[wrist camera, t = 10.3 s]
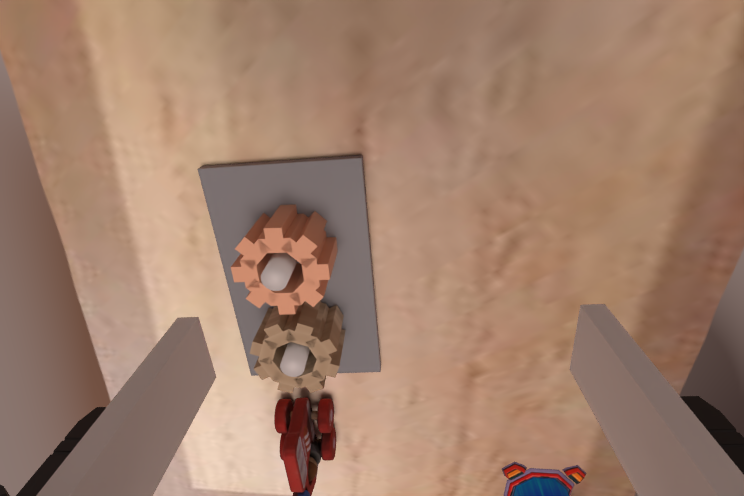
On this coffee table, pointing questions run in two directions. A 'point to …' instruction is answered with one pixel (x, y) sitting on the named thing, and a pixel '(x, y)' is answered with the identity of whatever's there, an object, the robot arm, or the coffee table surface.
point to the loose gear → (301, 243)
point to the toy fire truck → (304, 440)
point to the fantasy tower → (540, 480)
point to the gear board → (342, 223)
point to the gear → (303, 328)
